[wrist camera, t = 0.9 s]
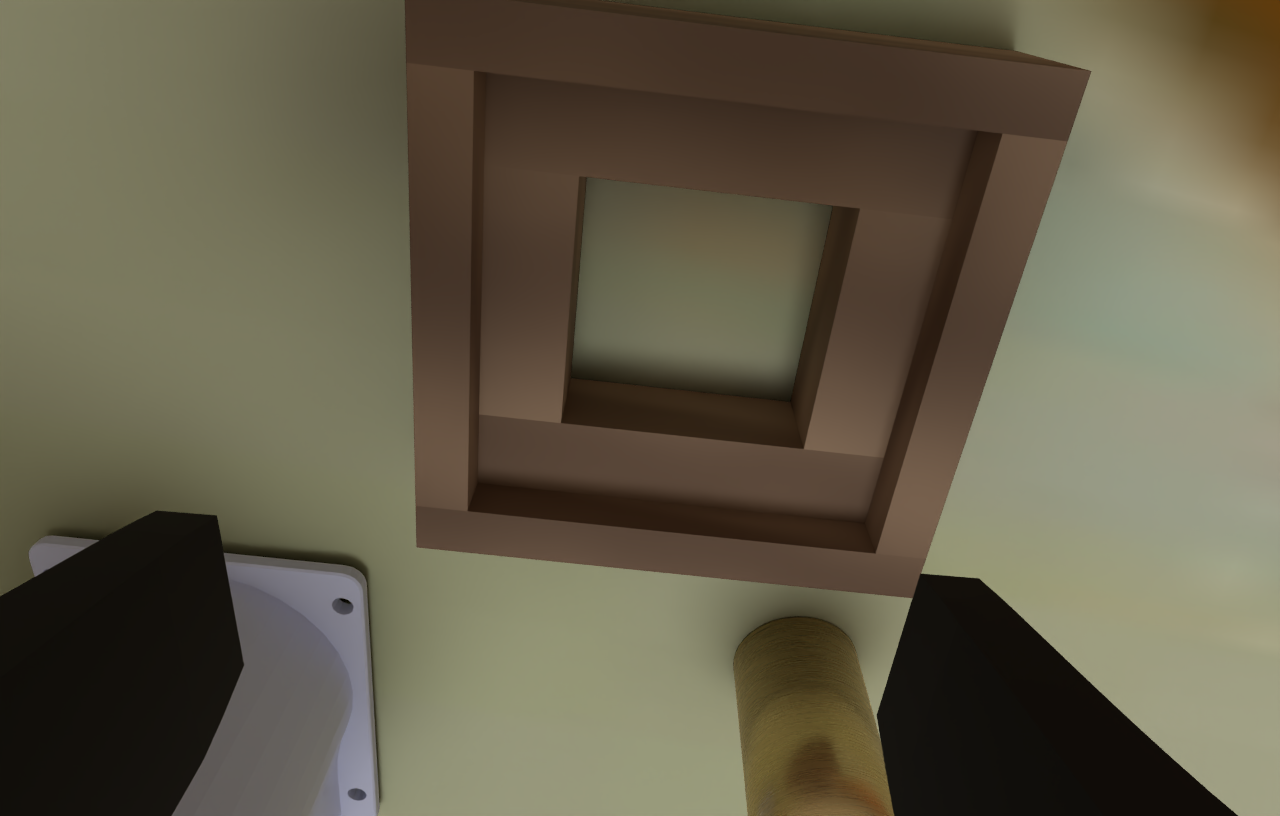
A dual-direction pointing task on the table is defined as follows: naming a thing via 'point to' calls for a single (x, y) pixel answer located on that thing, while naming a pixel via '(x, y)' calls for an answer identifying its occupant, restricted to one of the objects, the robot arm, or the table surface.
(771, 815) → the peg
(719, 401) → the box
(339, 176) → the table surface
